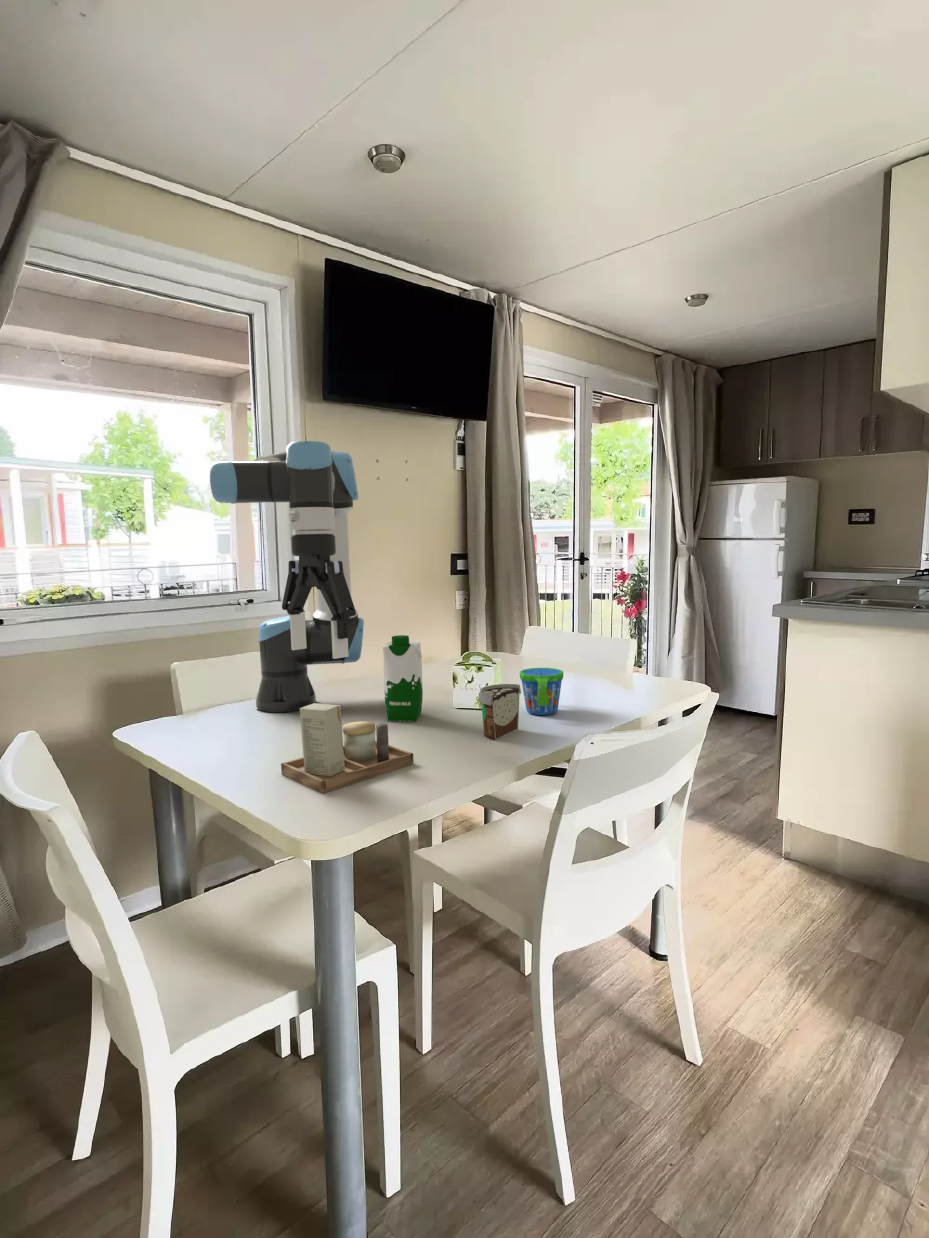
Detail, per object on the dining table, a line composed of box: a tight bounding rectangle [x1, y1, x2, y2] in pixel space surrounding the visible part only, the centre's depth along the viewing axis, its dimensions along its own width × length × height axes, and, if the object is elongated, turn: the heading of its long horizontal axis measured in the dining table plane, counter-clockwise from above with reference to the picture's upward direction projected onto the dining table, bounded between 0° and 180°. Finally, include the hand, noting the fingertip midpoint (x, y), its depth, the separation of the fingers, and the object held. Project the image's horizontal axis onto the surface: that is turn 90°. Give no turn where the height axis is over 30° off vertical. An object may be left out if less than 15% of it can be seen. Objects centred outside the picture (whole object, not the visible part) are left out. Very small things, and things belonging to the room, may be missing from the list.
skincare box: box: [299, 702, 345, 777], centre depth 119 cm, size 6×4×12 cm
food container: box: [477, 683, 522, 741], centre depth 144 cm, size 12×6×10 cm, turn 145°
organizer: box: [280, 721, 414, 794], centre depth 123 cm, size 14×20×8 cm
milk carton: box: [382, 634, 424, 722], centre depth 157 cm, size 9×9×20 cm
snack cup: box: [519, 667, 564, 716], centre depth 160 cm, size 16×10×10 cm
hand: (319, 653), depth 117 cm, fingers open, 13 cm apart
